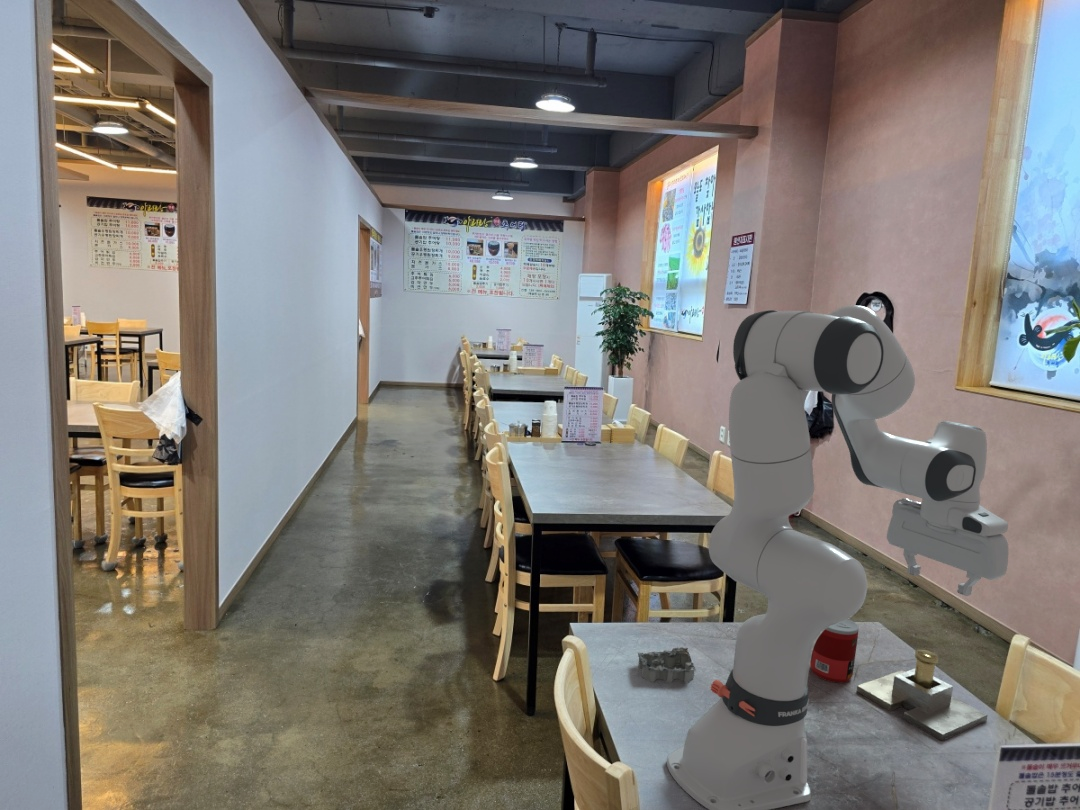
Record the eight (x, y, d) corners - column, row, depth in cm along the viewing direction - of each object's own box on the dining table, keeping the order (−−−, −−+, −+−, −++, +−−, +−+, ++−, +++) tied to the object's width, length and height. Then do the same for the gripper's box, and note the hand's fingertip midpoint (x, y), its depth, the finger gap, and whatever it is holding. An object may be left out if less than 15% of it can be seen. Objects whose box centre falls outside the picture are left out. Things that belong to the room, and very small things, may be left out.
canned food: (856, 686, 134) (863, 633, 132) (813, 680, 136) (819, 628, 134) (847, 666, 142) (853, 616, 140) (806, 660, 143) (812, 611, 141)
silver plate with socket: (941, 741, 118) (945, 714, 117) (856, 691, 132) (859, 667, 132) (986, 720, 125) (990, 695, 124) (901, 675, 139) (904, 652, 138)
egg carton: (688, 665, 139) (690, 646, 138) (696, 686, 132) (698, 666, 131) (635, 662, 139) (637, 643, 138) (641, 682, 132) (642, 663, 131)
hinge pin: (924, 707, 126) (930, 661, 125) (904, 696, 129) (910, 652, 128) (936, 702, 128) (943, 657, 126) (916, 691, 131) (923, 648, 130)
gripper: (884, 496, 131) (875, 566, 133) (998, 530, 113) (985, 609, 115) (905, 494, 134) (895, 561, 136) (1018, 526, 116) (1005, 603, 118)
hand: (937, 584), depth 125 cm, fingers open, 8 cm apart
